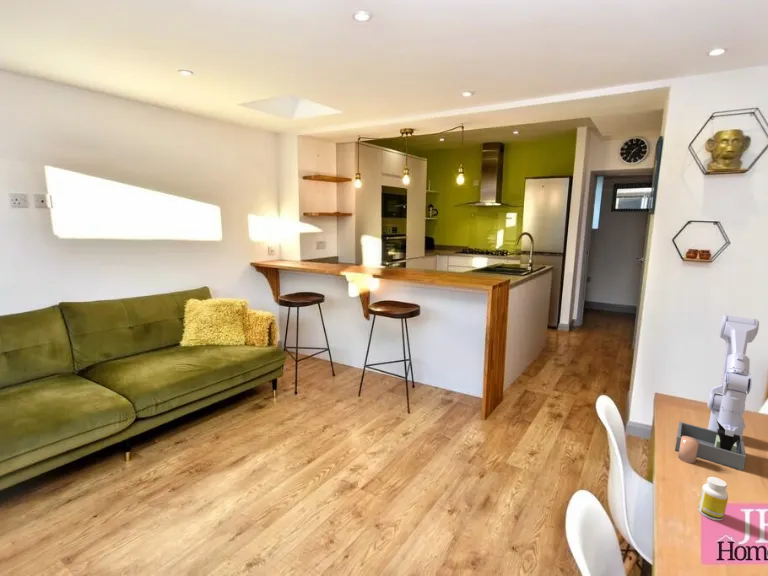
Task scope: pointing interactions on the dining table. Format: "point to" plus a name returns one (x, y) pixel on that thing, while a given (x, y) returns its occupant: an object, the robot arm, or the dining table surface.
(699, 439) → the tote
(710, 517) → the supplement bottle
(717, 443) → the green block
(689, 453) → the terracotta cylinder
